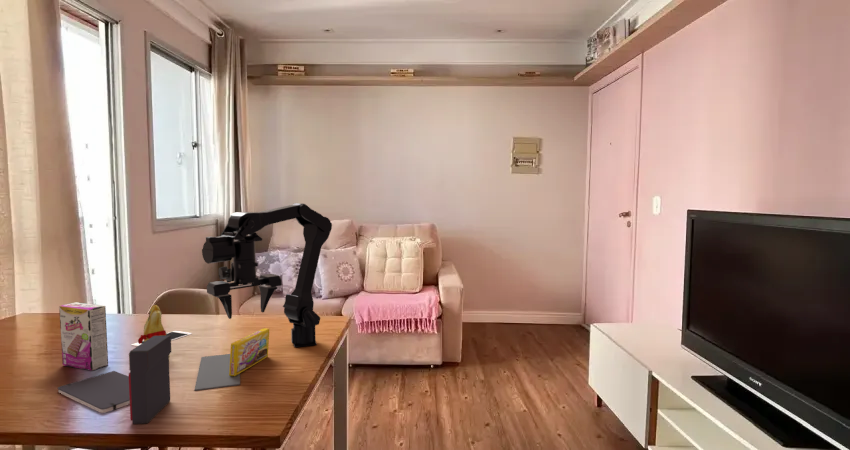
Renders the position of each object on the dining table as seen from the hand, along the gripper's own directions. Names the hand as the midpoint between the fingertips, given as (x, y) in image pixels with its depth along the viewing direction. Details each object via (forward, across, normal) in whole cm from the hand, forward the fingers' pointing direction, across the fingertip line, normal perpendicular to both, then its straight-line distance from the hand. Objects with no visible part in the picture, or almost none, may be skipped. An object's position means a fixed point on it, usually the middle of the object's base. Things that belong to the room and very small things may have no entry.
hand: (246, 315), depth 135 cm
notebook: (+13, +33, -1) cm, 35 cm away
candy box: (+13, +2, +5) cm, 14 cm away
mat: (+12, +9, +2) cm, 15 cm away
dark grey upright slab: (+12, +29, +17) cm, 35 cm away
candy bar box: (+12, +33, -26) cm, 44 cm away
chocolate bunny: (+13, +19, -19) cm, 30 cm away
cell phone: (+13, +11, -37) cm, 41 cm away
